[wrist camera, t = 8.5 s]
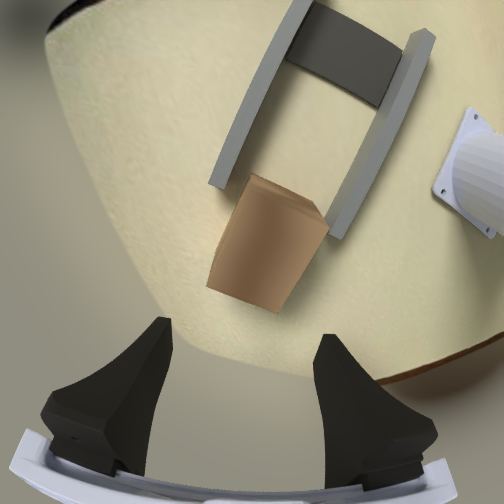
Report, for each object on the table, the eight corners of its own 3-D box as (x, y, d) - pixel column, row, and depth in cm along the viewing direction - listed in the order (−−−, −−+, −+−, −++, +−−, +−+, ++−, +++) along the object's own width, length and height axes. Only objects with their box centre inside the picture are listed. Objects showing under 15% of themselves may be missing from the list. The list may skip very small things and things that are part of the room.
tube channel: (421, 41, 13) (436, 36, 12) (333, 228, 20) (341, 239, 18) (308, -23, 12) (314, -35, 10) (212, 177, 18) (207, 183, 17)
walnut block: (312, 201, 19) (329, 227, 15) (272, 271, 22) (277, 313, 17) (251, 172, 18) (250, 190, 14) (216, 248, 21) (206, 286, 16)
